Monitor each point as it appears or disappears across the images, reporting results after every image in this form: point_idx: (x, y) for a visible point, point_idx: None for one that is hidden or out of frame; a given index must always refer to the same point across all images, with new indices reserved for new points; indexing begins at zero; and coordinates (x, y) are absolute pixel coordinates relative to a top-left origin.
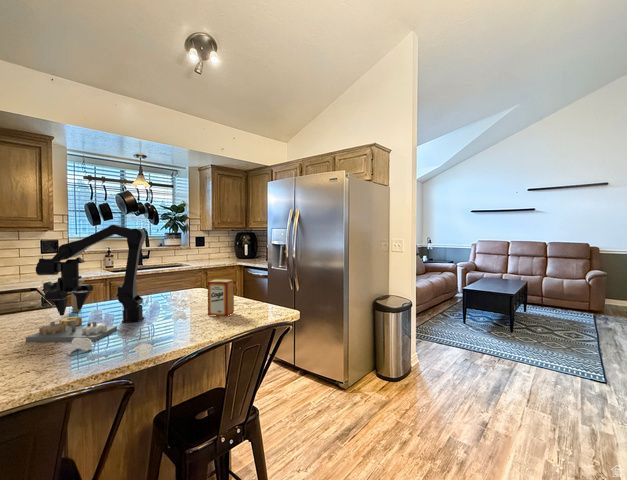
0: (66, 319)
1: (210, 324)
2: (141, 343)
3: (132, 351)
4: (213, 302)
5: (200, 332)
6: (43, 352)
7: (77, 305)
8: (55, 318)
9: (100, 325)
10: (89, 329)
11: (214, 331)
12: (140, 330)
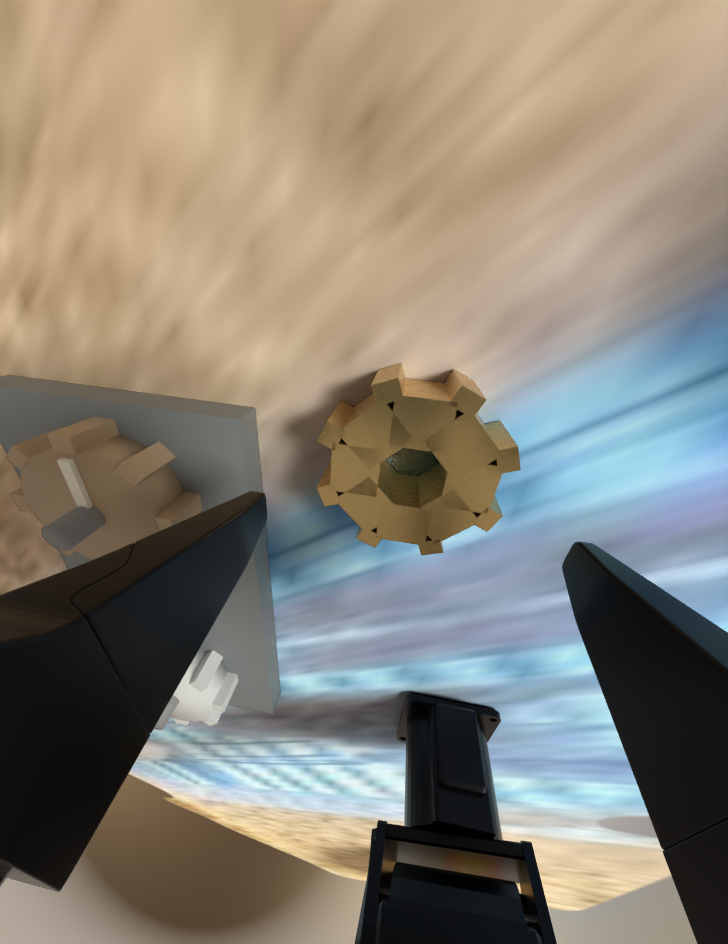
0: (389, 451)
1: (342, 835)
2: (164, 746)
3: None
4: None
5: (269, 816)
6: None
7: (613, 587)
8: None
9: (184, 712)
10: None
11: (279, 829)
12: (280, 741)
